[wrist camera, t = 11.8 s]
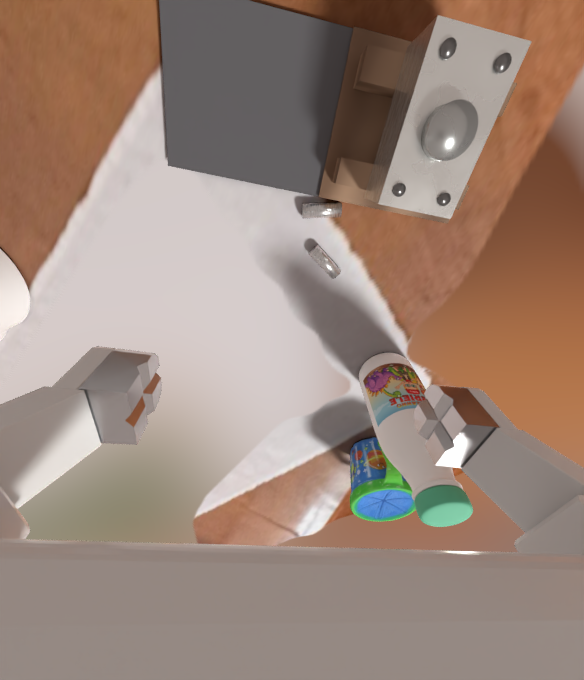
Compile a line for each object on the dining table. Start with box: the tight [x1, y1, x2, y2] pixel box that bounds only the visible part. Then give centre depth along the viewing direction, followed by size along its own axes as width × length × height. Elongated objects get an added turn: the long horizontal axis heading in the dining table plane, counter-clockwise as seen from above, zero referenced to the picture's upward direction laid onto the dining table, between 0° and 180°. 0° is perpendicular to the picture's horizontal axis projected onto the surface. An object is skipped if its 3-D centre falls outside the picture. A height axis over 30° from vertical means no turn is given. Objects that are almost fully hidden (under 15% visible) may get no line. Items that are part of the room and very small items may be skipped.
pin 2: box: [309, 245, 341, 279], centre depth 32 cm, size 4×1×1 cm
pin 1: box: [302, 202, 342, 218], centre depth 29 cm, size 4×1×1 cm
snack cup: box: [350, 437, 416, 521], centre depth 46 cm, size 16×10×10 cm
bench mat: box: [159, 0, 353, 196], centre depth 24 cm, size 16×12×1 cm
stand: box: [318, 26, 517, 223], centre depth 24 cm, size 14×12×3 cm
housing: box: [364, 15, 531, 219], centre depth 20 cm, size 10×6×6 cm, turn 170°
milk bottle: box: [359, 353, 473, 527], centre depth 32 cm, size 8×8×20 cm
